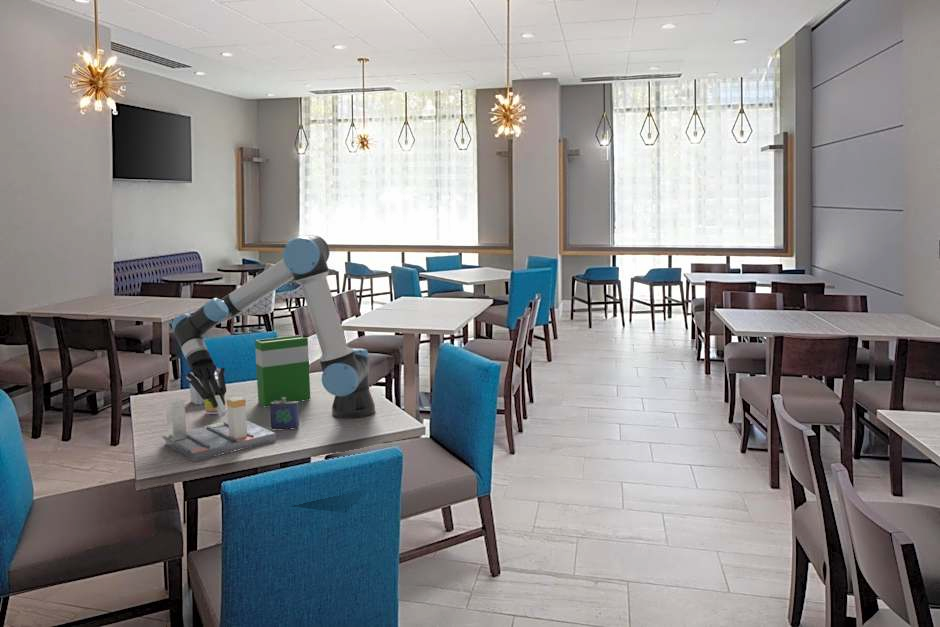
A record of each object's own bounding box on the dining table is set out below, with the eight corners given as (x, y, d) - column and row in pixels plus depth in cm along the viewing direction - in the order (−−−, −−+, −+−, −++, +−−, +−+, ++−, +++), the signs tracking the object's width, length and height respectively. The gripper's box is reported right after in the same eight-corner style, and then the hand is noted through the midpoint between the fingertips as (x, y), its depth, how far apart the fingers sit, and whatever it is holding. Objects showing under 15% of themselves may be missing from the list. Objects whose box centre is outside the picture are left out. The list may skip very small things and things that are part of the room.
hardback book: (303, 395, 285) (300, 334, 282) (310, 399, 279) (307, 337, 275) (258, 402, 275) (254, 340, 272) (264, 407, 269) (261, 343, 266)
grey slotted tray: (160, 444, 229) (157, 399, 227) (242, 425, 247) (240, 383, 245) (191, 462, 212) (187, 414, 210) (276, 441, 231) (274, 396, 228)
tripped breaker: (229, 436, 228) (226, 398, 226) (241, 433, 230) (239, 396, 228) (235, 439, 225) (232, 401, 223) (247, 436, 227) (245, 398, 226)
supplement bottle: (219, 415, 259) (216, 380, 257) (202, 415, 260) (199, 379, 258) (229, 410, 265) (226, 376, 264) (212, 409, 267) (210, 375, 265)
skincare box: (196, 405, 273) (195, 377, 272) (190, 401, 278) (188, 374, 276) (224, 400, 280) (222, 373, 278) (217, 396, 285) (215, 370, 283)
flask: (299, 426, 246) (298, 395, 244) (298, 429, 243) (296, 397, 241) (271, 427, 245) (269, 396, 243) (270, 430, 242) (268, 399, 240)
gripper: (213, 359, 250) (239, 416, 240) (175, 365, 241) (200, 425, 231) (219, 346, 245) (245, 403, 236) (180, 351, 236) (206, 412, 227)
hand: (223, 414), depth 234 cm, fingers closed
